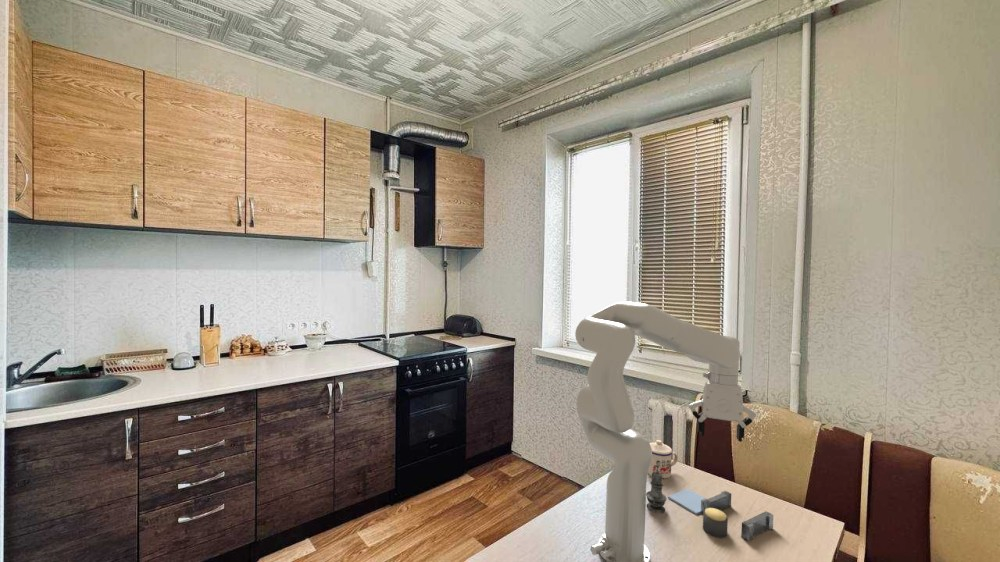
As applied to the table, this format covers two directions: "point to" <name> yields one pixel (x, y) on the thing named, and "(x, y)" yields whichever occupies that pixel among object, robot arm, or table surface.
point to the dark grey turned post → (656, 494)
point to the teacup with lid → (661, 459)
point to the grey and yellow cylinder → (715, 522)
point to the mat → (688, 500)
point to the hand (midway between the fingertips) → (720, 437)
